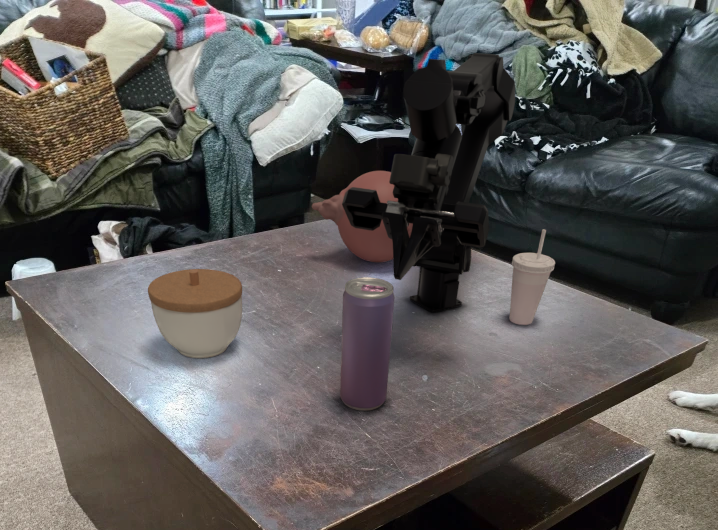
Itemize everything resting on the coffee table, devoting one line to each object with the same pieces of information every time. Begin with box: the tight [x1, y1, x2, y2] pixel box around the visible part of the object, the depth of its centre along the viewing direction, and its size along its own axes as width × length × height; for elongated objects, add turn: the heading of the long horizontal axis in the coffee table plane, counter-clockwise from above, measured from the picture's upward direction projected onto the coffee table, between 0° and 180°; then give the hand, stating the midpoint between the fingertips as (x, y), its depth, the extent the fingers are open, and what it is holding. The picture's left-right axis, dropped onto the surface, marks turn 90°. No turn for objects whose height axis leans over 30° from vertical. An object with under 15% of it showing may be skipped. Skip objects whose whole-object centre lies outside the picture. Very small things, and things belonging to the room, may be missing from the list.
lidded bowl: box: [147, 268, 243, 359], centre depth 89 cm, size 13×13×11 cm
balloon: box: [311, 170, 413, 263], centre depth 117 cm, size 15×20×15 cm
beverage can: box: [339, 277, 396, 412], centre depth 77 cm, size 6×6×15 cm
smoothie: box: [508, 228, 556, 326], centre depth 98 cm, size 6×6×14 cm
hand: (397, 278), depth 82 cm, fingers closed
